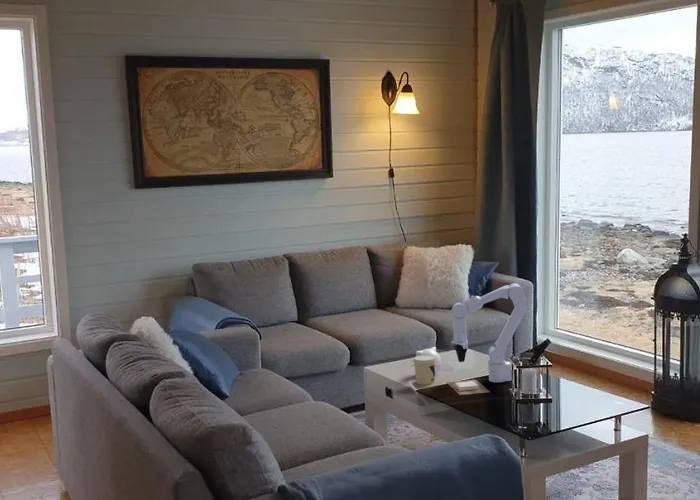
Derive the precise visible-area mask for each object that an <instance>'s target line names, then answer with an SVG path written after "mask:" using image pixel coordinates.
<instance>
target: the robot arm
mask: <svg viewBox="0 0 700 500" xmlns="http://www.w3.org/2000/svg"><path fill="white" fill-rule="evenodd" d="M501 298H502V299H507V300H508V299H509V298H510V300H511V301H512V303H513V306H514V307H513V310H512V312H511V314H510V315H509V317H508V319H507V322H506V323H505V325H504V327H503V329H502V331H501V332H500V334H499V337H498V338H497V339H496V340H495V342H494V343H493V345H491V346H490V347H489V348H488V351H487V353H488V356H489V360H488V362H487V363H488V381H489V382H491V383H504V382H509V381H511V380H512V381H513V379H512V378H513V377H512V366H511V362H509V361H506V360H505V358H506V357H505V354H506V352H507V349H508V346H509V343H510V342H511V340H512V338H513V336H514V334H515V332H516V330H517V328H518V327H519V325H520V323H521V321H522V320H523V317H524V315H525V313H526V311H527V310H528V309H527V308H528V307H527V306H528V305H527V297H526V293H525V291H524V290H523V288H522V286H521V285H520V284H519V283H517V282H513V283H510V284H509V285H508V284H507V285H504V286H501V287H499V288H497V289H495V290H492V291H491V292H487V293H486V294H484V295H482V296H480V295H479V296H478V295H475V296H474V295H471V296H470V298H468V299H467V298H466V299H465V300H460V302H456V303H454V304H453V306H452V307H451V310H452V315H453V316H452V329H453V340H452V341H451V342H450V343H451V344H452V345H453V344H454V345H453V348H454V350H455V352H456V353H455V354H456V357H457V359H458V363H465V359H466V354H467V351H468V349H469V343H468V342H469V341H468V330H467V319H466V315H467V314H470V313H473V312H475V311H477V310H480V309H482V308H483V306H484V304H487V303H490V302H492V301H495V300H497V299H501Z"/></svg>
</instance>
